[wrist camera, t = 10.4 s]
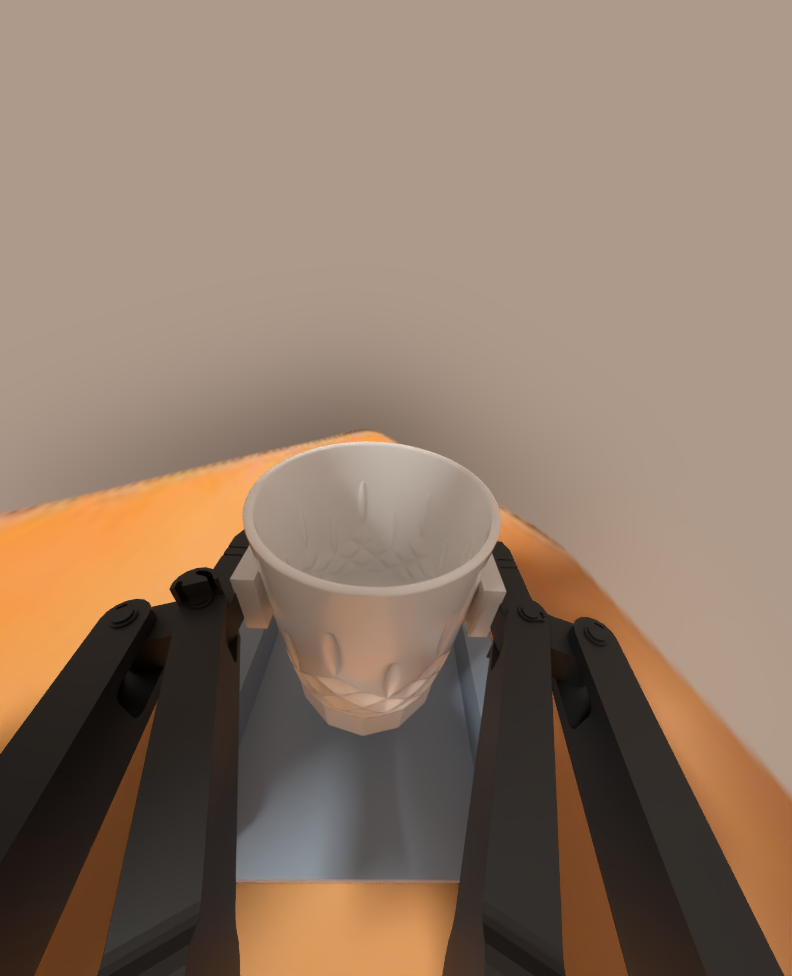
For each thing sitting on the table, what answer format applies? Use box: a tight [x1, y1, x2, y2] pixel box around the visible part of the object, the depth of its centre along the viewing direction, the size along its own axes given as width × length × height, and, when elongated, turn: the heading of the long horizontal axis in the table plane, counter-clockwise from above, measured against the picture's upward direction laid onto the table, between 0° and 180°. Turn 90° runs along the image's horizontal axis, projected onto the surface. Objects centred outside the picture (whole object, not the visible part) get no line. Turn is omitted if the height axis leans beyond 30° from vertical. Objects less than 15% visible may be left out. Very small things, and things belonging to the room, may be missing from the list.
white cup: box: [243, 442, 501, 736], centre depth 12 cm, size 8×8×10 cm
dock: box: [236, 615, 492, 883], centre depth 16 cm, size 14×14×4 cm
